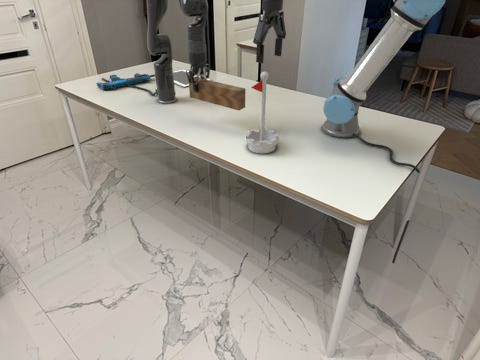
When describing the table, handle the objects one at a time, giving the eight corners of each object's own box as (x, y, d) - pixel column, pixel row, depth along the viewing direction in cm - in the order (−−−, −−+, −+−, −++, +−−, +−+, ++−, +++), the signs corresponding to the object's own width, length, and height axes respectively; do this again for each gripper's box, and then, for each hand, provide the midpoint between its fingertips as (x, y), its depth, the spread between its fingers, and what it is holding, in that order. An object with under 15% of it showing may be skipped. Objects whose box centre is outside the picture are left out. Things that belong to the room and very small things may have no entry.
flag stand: (269, 137, 144) (273, 65, 127) (283, 151, 134) (289, 74, 117) (240, 142, 140) (240, 68, 123) (253, 157, 130) (255, 78, 113)
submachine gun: (140, 68, 226) (159, 74, 209) (142, 73, 228) (160, 80, 211) (89, 77, 207) (104, 85, 190) (90, 84, 209) (106, 92, 192)
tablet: (157, 75, 221) (157, 74, 221) (183, 69, 232) (183, 69, 232) (184, 87, 201) (183, 86, 200) (211, 80, 212) (211, 79, 211)
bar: (245, 107, 143) (245, 88, 139) (239, 110, 140) (239, 91, 136) (196, 94, 156) (195, 77, 152) (190, 97, 153) (188, 79, 149)
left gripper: (201, 46, 148) (203, 84, 157) (178, 52, 138) (182, 93, 148) (215, 48, 144) (216, 87, 154) (192, 55, 135) (195, 96, 144)
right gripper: (281, -6, 132) (276, 51, 143) (244, -1, 115) (242, 63, 126) (298, -4, 128) (292, 54, 140) (263, 1, 111) (259, 67, 123)
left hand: (199, 90), depth 151 cm, fingers closed on bar, 4 cm apart
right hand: (268, 59), depth 133 cm, fingers open, 13 cm apart
